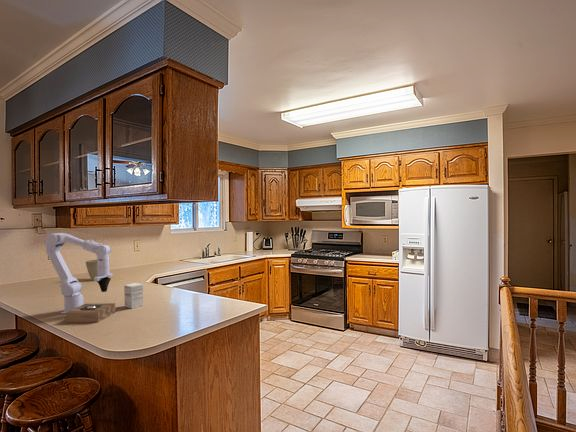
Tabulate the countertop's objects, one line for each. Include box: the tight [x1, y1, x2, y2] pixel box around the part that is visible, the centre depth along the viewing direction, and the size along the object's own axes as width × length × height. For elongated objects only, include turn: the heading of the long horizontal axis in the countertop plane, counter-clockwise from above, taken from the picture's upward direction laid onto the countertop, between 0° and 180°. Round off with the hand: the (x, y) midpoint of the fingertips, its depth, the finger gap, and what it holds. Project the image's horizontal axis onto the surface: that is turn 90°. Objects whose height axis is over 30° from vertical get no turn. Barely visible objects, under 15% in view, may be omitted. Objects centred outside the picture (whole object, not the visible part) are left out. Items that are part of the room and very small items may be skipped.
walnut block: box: [65, 302, 116, 324], centre depth 170 cm, size 16×16×6 cm
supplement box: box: [124, 282, 144, 310], centre depth 189 cm, size 7×7×13 cm
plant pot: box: [85, 258, 98, 282], centre depth 269 cm, size 15×15×16 cm
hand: (104, 291), depth 182 cm, fingers closed
